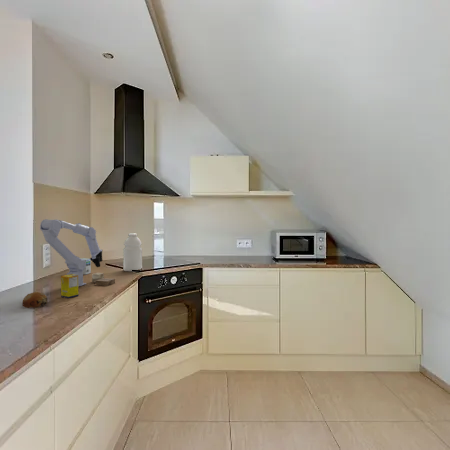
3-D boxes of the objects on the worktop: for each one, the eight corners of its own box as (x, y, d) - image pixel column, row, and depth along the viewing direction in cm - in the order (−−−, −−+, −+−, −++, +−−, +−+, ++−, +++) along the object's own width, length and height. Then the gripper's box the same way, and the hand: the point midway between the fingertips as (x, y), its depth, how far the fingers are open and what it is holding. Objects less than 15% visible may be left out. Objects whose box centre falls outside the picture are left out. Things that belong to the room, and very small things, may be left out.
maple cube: (99, 282, 202) (99, 274, 202) (92, 281, 203) (92, 274, 203) (103, 280, 207) (103, 273, 207) (96, 280, 208) (96, 272, 208)
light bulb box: (91, 273, 234) (91, 258, 234) (86, 274, 228) (86, 259, 227) (77, 272, 235) (77, 257, 235) (71, 274, 229) (71, 259, 228)
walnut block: (107, 286, 193) (107, 281, 193) (95, 285, 194) (95, 280, 194) (114, 283, 200) (114, 278, 200) (103, 282, 202) (103, 278, 202)
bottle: (125, 272, 240) (125, 234, 239) (121, 269, 252) (121, 233, 251) (144, 270, 246) (144, 233, 246) (139, 268, 259) (139, 233, 258)
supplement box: (70, 294, 170) (70, 273, 170) (78, 296, 167) (78, 274, 167) (60, 297, 165) (60, 275, 165) (68, 298, 162) (68, 276, 162)
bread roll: (44, 309, 155) (41, 293, 157) (52, 303, 149) (49, 287, 151) (21, 314, 148) (18, 297, 150) (28, 308, 142) (25, 290, 144)
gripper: (97, 248, 196) (104, 267, 201) (101, 239, 210) (107, 257, 215) (85, 250, 196) (92, 270, 201) (90, 241, 209) (97, 260, 214)
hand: (99, 264), depth 208 cm, fingers open, 7 cm apart
